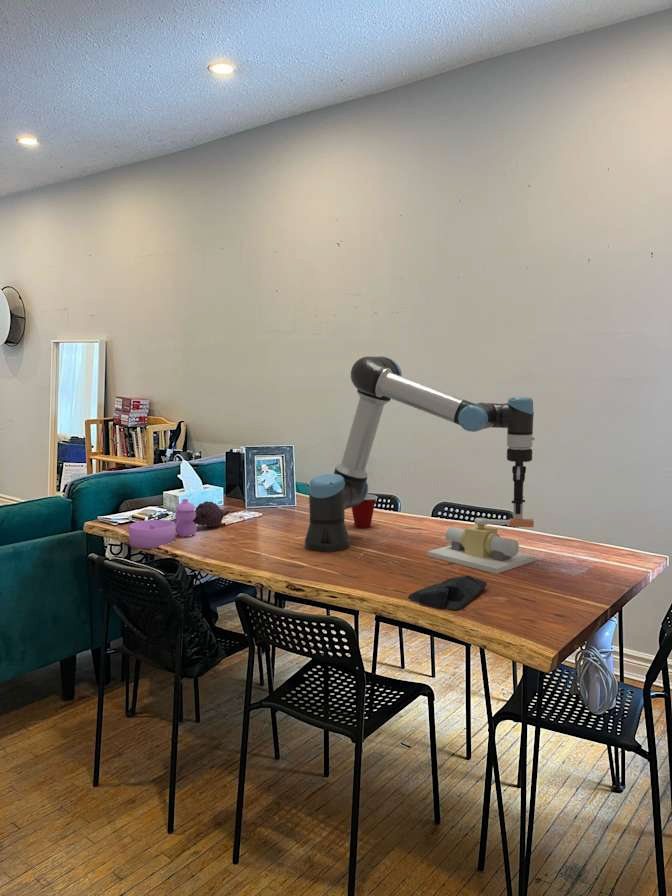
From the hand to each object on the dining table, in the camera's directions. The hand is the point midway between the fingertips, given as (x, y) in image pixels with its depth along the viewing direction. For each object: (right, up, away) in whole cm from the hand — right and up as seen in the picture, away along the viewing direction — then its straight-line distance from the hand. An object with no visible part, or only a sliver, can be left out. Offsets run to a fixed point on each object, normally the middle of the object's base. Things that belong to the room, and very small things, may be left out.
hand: (517, 523), depth 215 cm
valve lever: (-5, 0, -2) cm, 5 cm away
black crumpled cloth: (-26, -16, -34) cm, 46 cm away
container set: (-116, -9, +27) cm, 119 cm away
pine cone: (-104, -7, +46) cm, 114 cm away
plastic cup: (-46, -6, +46) cm, 65 cm away
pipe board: (-11, -11, +1) cm, 16 cm away
